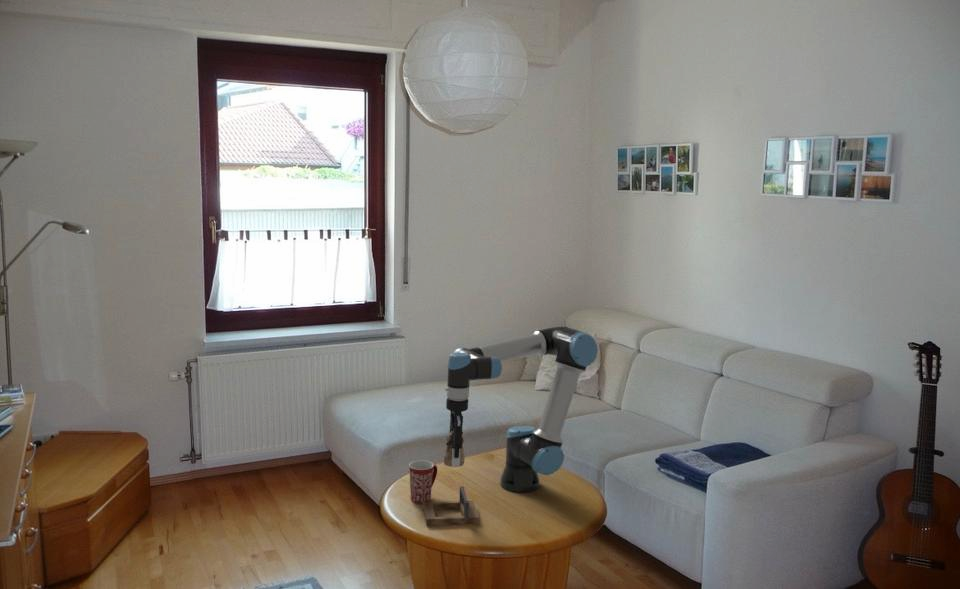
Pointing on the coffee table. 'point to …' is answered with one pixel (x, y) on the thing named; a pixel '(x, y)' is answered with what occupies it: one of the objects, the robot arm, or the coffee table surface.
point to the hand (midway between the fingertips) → (454, 461)
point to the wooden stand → (463, 504)
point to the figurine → (449, 452)
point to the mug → (421, 480)
